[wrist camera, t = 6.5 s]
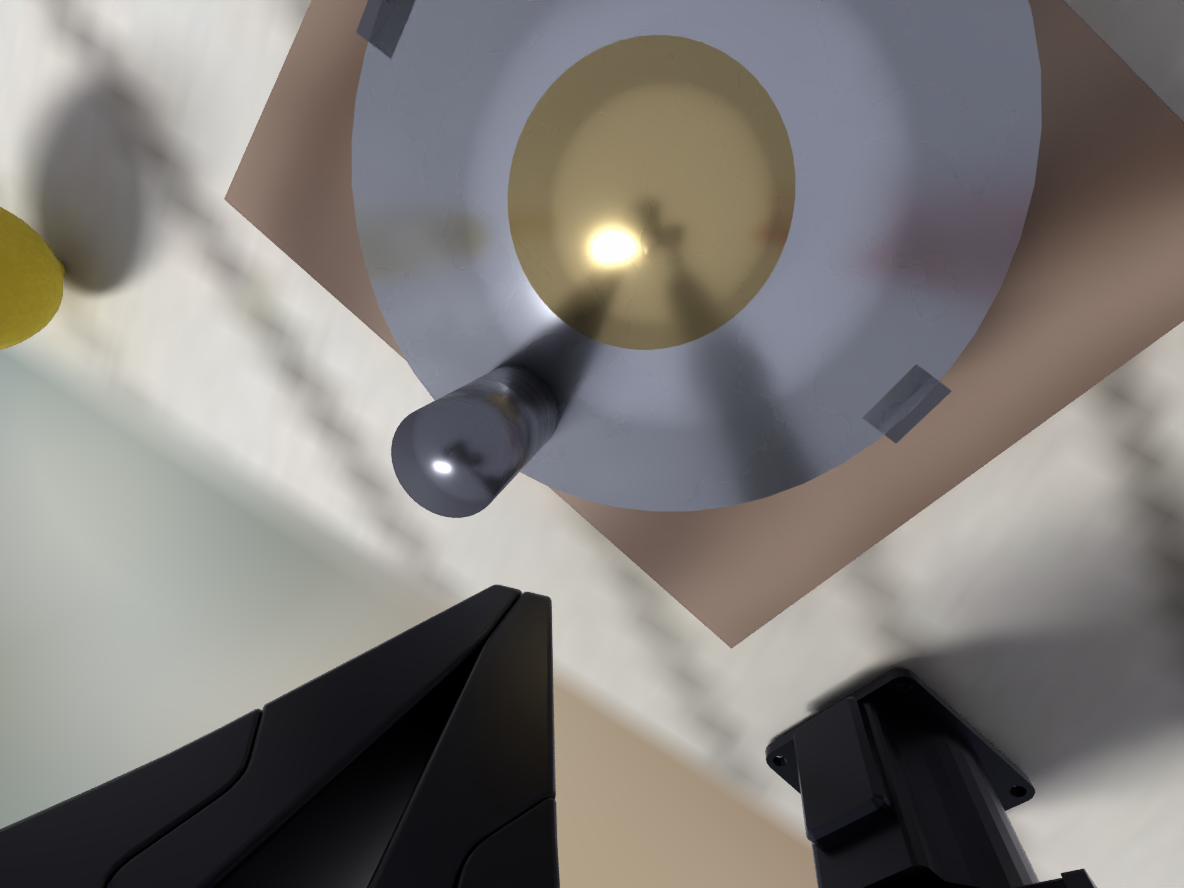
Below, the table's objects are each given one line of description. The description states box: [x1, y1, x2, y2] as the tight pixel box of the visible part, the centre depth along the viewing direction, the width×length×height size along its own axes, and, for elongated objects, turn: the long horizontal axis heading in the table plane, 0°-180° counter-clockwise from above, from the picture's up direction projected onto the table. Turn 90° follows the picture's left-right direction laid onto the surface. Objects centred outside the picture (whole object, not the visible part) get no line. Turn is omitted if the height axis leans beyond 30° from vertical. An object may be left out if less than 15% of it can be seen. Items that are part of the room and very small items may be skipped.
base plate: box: [224, 0, 1184, 648], centre depth 16 cm, size 22×17×2 cm
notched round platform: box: [352, 0, 1042, 518], centre depth 12 cm, size 16×16×6 cm
